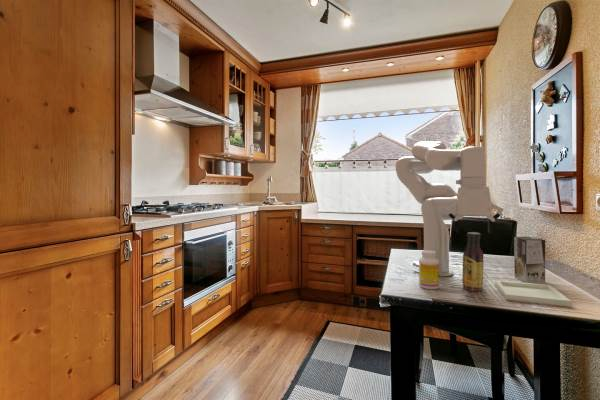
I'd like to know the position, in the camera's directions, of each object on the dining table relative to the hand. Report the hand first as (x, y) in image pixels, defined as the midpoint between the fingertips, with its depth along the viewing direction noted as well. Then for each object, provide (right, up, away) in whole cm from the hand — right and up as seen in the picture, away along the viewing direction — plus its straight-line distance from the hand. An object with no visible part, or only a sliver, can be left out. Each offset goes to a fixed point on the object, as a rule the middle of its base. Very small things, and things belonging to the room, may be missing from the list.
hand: (473, 232), depth 103 cm
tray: (+15, -20, -5) cm, 25 cm away
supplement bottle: (-13, -20, +5) cm, 25 cm away
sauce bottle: (0, -20, +1) cm, 20 cm away
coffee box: (+27, -19, +10) cm, 35 cm away
